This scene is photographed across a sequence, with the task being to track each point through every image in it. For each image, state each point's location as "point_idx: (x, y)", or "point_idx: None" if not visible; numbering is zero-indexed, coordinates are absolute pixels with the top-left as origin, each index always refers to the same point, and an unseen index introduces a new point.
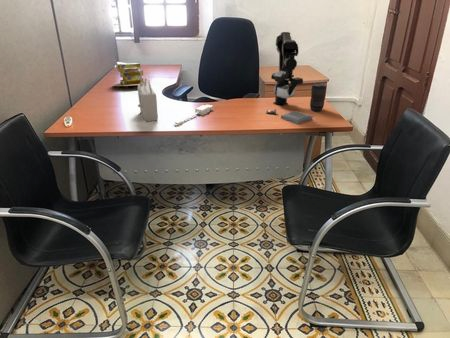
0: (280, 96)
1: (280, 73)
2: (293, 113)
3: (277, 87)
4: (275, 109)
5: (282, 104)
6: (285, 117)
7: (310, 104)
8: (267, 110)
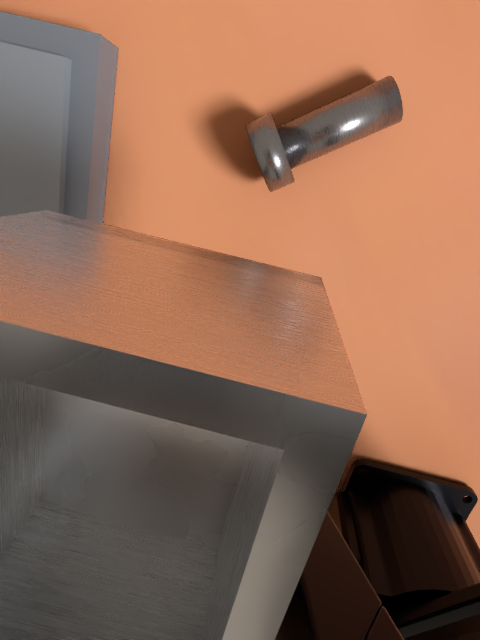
0: (174, 246)
1: None
2: (13, 209)
3: (342, 415)
4: (269, 159)
5: (349, 488)
6: (18, 17)
7: None
8: (389, 105)
